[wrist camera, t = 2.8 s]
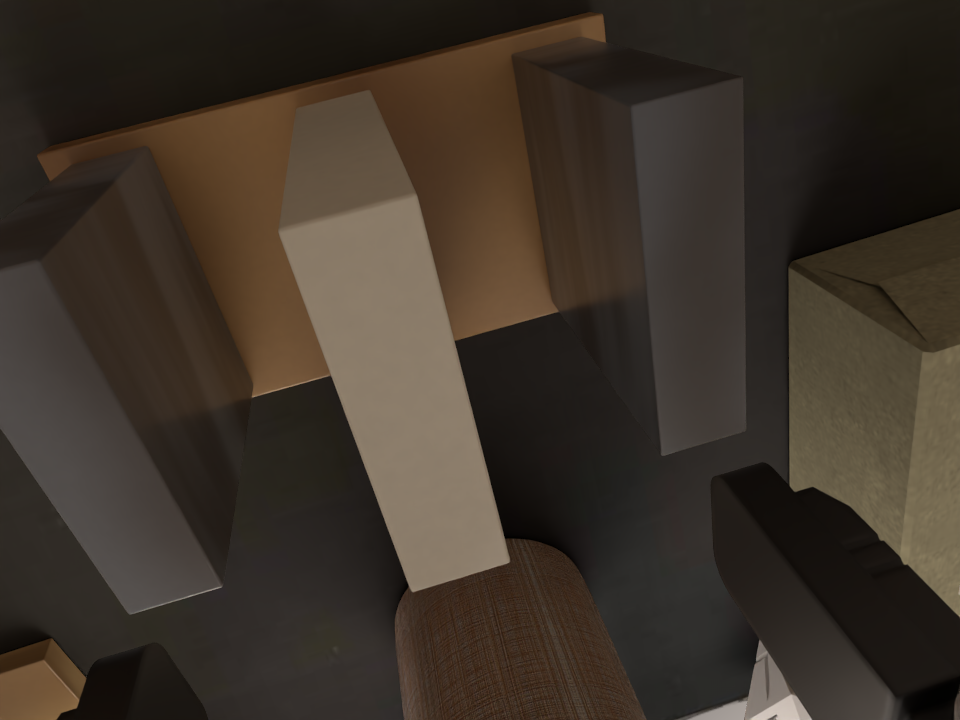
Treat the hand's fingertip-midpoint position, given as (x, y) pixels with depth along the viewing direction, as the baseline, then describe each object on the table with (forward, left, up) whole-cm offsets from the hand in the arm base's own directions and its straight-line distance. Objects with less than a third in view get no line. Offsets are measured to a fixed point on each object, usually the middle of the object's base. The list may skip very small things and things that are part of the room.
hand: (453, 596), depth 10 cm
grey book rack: (0, 0, -18) cm, 18 cm away
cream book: (0, 0, -17) cm, 17 cm away
